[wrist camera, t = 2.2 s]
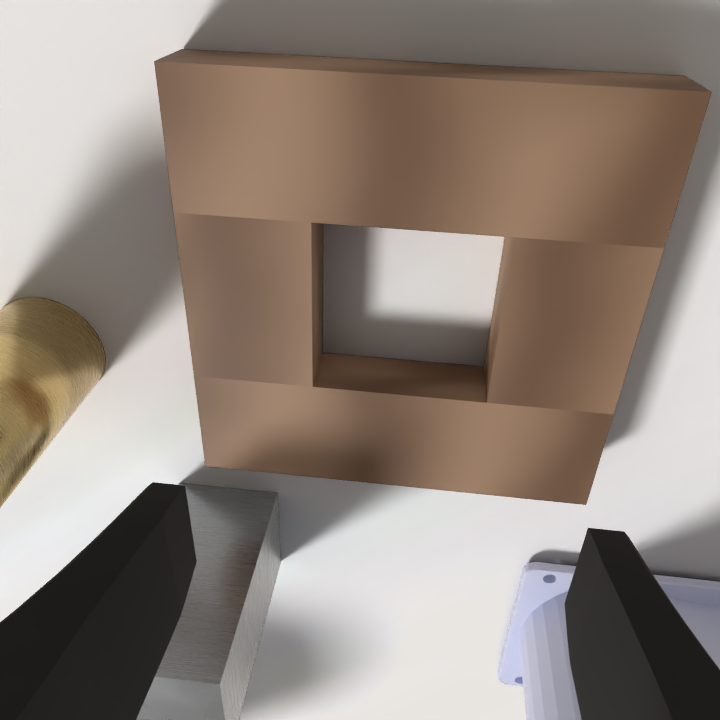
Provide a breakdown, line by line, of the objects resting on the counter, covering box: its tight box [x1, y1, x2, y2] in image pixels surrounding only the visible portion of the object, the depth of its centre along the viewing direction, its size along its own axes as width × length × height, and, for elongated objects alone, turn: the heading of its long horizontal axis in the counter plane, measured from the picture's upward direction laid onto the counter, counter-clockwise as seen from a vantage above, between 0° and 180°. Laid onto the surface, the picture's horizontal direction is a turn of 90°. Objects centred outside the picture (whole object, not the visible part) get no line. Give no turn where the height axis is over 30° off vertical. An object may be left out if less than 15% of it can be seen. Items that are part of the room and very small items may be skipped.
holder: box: [154, 49, 712, 505], centre depth 20 cm, size 13×13×2 cm
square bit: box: [136, 483, 281, 720], centre depth 24 cm, size 4×4×8 cm
